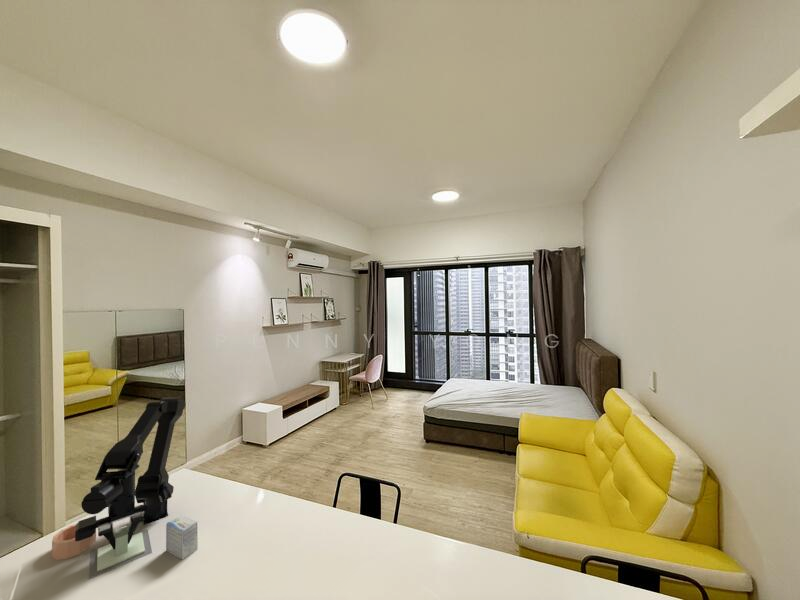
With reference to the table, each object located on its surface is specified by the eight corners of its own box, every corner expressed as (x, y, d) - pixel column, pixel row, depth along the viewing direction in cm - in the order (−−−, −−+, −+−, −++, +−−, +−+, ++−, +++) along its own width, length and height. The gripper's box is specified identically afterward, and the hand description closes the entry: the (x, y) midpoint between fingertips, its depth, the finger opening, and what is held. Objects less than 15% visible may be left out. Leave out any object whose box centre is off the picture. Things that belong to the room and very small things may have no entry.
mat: (147, 530, 101) (147, 529, 101) (152, 554, 92) (152, 552, 92) (90, 552, 92) (90, 550, 92) (89, 580, 83) (89, 579, 83)
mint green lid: (142, 533, 99) (142, 515, 99) (144, 552, 92) (145, 532, 92) (97, 550, 92) (98, 531, 92) (97, 571, 85) (97, 550, 85)
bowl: (96, 533, 100) (96, 517, 100) (95, 549, 93) (95, 532, 94) (54, 547, 94) (54, 530, 94) (50, 566, 87) (50, 548, 87)
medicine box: (198, 550, 93) (198, 521, 93) (182, 562, 89) (182, 530, 89) (181, 542, 96) (181, 513, 97) (165, 552, 92) (165, 522, 93)
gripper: (158, 469, 105) (158, 517, 104) (78, 492, 92) (77, 546, 92) (163, 483, 96) (162, 535, 96) (75, 510, 84) (74, 570, 83)
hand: (121, 545), depth 92 cm, fingers closed on mint green lid, 3 cm apart
